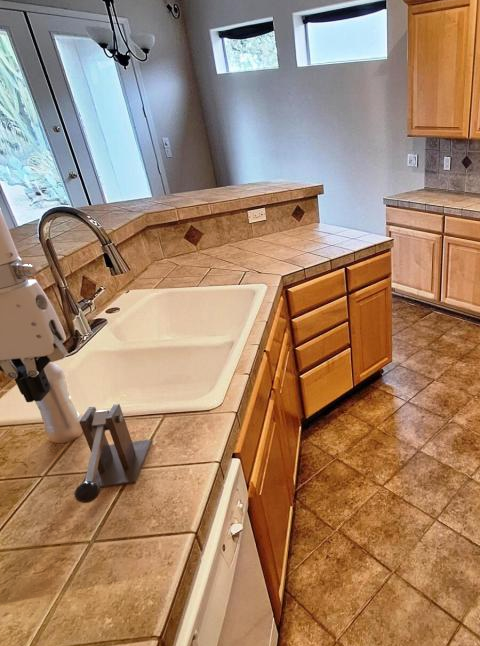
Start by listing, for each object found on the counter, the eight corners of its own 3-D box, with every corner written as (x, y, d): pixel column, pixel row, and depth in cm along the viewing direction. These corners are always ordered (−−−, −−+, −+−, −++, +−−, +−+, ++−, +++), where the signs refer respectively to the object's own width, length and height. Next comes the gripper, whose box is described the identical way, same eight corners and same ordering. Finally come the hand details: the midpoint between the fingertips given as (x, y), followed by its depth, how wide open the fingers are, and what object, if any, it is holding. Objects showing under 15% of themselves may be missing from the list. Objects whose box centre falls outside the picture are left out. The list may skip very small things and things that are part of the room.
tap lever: (101, 503, 70) (92, 497, 68) (78, 507, 70) (67, 501, 67) (118, 416, 80) (111, 408, 77) (97, 419, 79) (89, 410, 76)
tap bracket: (136, 485, 78) (116, 429, 72) (80, 494, 76) (55, 437, 70) (153, 443, 88) (137, 391, 83) (104, 450, 86) (84, 397, 81)
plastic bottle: (91, 424, 93) (60, 343, 84) (81, 444, 88) (47, 359, 79) (56, 430, 91) (21, 347, 83) (44, 450, 86) (5, 364, 77)
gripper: (67, 265, 59) (105, 377, 68) (-64, 270, 56) (-7, 389, 64) (40, 282, 53) (86, 404, 61) (-109, 289, 50) (-39, 418, 58)
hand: (38, 396), depth 63 cm, fingers closed
